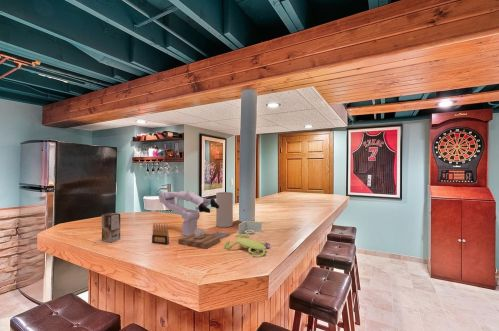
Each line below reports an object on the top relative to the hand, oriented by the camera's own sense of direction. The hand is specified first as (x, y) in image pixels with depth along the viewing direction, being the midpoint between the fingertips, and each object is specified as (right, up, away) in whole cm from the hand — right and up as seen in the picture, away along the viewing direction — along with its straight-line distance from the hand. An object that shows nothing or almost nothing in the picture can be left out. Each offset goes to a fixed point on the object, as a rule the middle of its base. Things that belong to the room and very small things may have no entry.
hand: (214, 209), depth 151 cm
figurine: (+21, -20, -15) cm, 32 cm away
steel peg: (-8, -19, -6) cm, 21 cm away
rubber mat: (+2, -19, +9) cm, 21 cm away
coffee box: (-63, -19, -1) cm, 66 cm away
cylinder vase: (+3, -19, +35) cm, 40 cm away
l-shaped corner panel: (+22, -20, +15) cm, 33 cm away
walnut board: (-8, -19, -6) cm, 21 cm away
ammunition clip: (-31, -19, -7) cm, 37 cm away
